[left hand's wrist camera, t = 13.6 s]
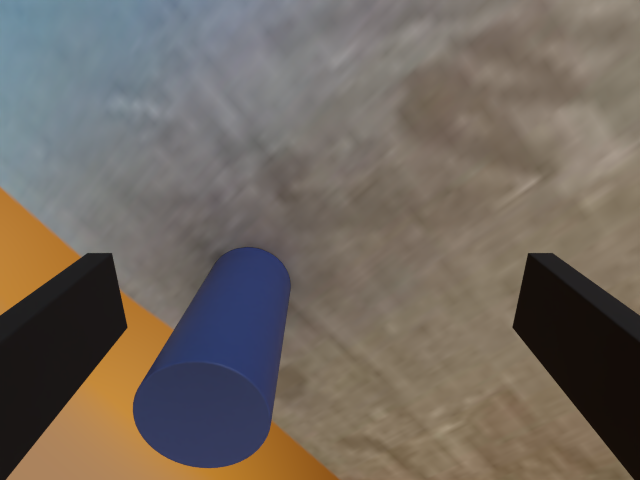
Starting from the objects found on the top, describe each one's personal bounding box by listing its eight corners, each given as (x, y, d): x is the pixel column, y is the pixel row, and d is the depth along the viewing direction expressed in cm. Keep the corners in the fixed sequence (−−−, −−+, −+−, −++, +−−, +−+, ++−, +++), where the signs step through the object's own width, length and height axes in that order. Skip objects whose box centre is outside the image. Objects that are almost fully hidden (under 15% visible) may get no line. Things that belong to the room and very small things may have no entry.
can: (302, 264, 26) (290, 387, 15) (274, 329, 28) (245, 483, 17) (223, 234, 26) (150, 342, 14) (199, 303, 27) (118, 446, 16)
